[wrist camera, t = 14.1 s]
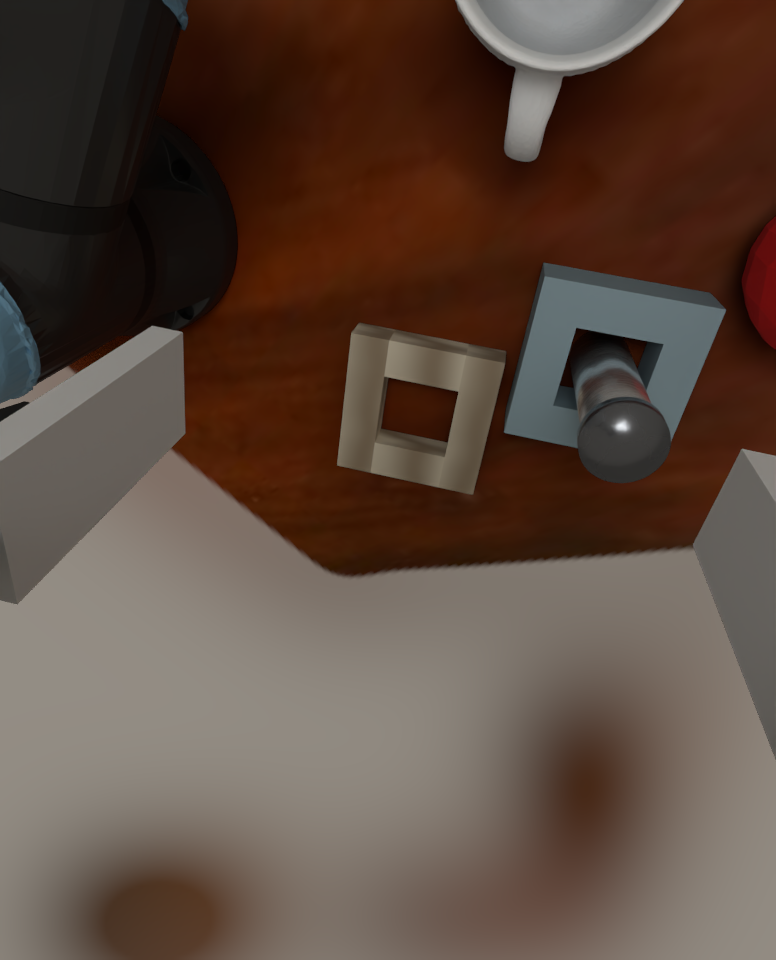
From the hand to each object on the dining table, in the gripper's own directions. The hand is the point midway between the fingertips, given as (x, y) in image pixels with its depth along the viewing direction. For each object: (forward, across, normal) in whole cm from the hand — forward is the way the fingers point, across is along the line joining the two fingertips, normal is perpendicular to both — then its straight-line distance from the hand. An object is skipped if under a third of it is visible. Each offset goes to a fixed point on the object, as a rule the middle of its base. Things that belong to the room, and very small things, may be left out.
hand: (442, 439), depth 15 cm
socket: (+32, +10, -8) cm, 34 cm away
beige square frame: (+32, -2, -14) cm, 35 cm away
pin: (+32, +10, -8) cm, 34 cm away
